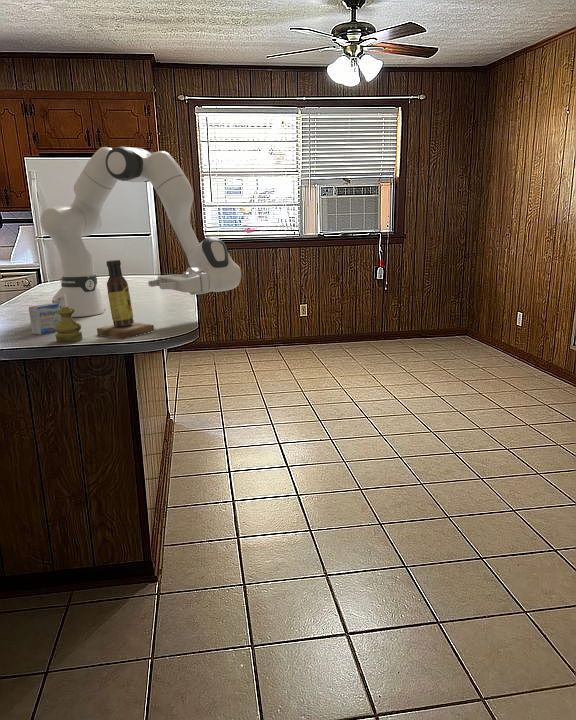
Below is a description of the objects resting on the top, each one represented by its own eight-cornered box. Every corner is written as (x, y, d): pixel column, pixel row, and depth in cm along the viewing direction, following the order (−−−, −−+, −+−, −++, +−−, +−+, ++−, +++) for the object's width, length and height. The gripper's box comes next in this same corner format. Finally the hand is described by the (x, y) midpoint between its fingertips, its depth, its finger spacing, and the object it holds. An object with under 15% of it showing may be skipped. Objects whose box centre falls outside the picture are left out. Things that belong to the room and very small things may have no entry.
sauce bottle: (136, 325, 172) (125, 259, 167) (115, 328, 170) (103, 262, 164) (132, 321, 178) (122, 258, 172) (112, 325, 176) (101, 260, 170)
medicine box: (40, 335, 175) (36, 307, 173) (32, 333, 177) (27, 306, 175) (62, 330, 181) (58, 303, 179) (53, 329, 184) (50, 302, 181)
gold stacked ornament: (74, 343, 162) (70, 309, 159) (51, 343, 163) (46, 309, 160) (87, 337, 169) (83, 304, 166) (65, 337, 170) (60, 304, 167)
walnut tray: (97, 334, 172) (96, 328, 172) (129, 327, 182) (128, 321, 181) (122, 339, 165) (122, 331, 165) (154, 331, 175) (153, 324, 174)
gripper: (181, 269, 190) (141, 272, 183) (208, 273, 174) (166, 277, 166) (182, 287, 192) (143, 292, 184) (209, 293, 175) (168, 298, 168)
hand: (154, 285), depth 175 cm, fingers open, 8 cm apart
